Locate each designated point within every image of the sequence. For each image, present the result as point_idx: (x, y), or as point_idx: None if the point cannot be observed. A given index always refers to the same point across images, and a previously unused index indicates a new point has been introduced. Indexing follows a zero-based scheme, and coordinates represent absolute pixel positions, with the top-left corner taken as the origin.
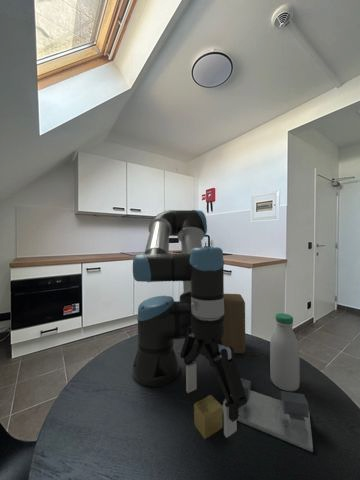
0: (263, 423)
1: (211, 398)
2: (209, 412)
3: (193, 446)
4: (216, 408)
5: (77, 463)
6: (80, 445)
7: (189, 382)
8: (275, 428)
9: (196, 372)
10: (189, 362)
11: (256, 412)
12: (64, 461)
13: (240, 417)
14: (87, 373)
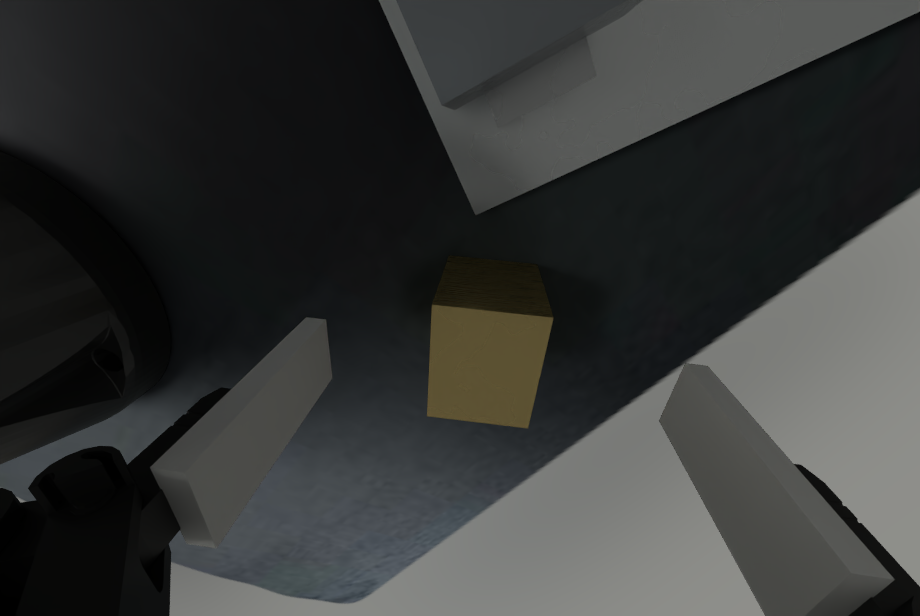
0: (742, 55)
1: (460, 325)
2: (527, 398)
3: None
4: (538, 355)
5: (366, 573)
6: (325, 562)
7: (299, 411)
8: (838, 14)
9: (255, 398)
10: (159, 538)
11: (666, 4)
12: (347, 584)
13: (595, 158)
14: (30, 495)
